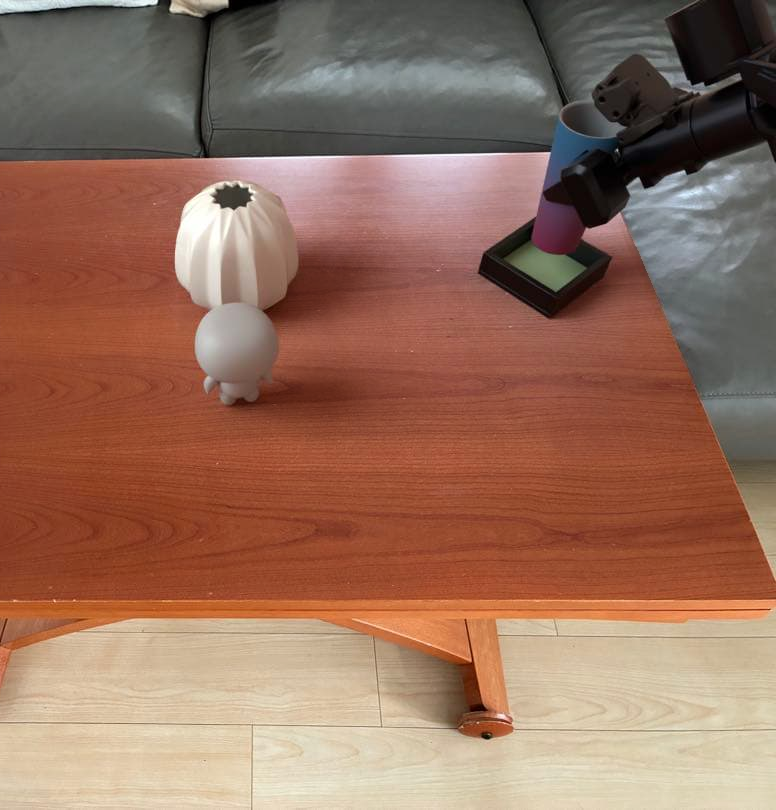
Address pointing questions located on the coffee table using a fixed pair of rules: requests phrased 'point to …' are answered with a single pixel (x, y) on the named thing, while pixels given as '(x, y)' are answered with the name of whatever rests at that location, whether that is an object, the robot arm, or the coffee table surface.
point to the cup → (573, 136)
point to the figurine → (236, 350)
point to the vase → (235, 246)
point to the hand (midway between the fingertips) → (561, 182)
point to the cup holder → (542, 271)
